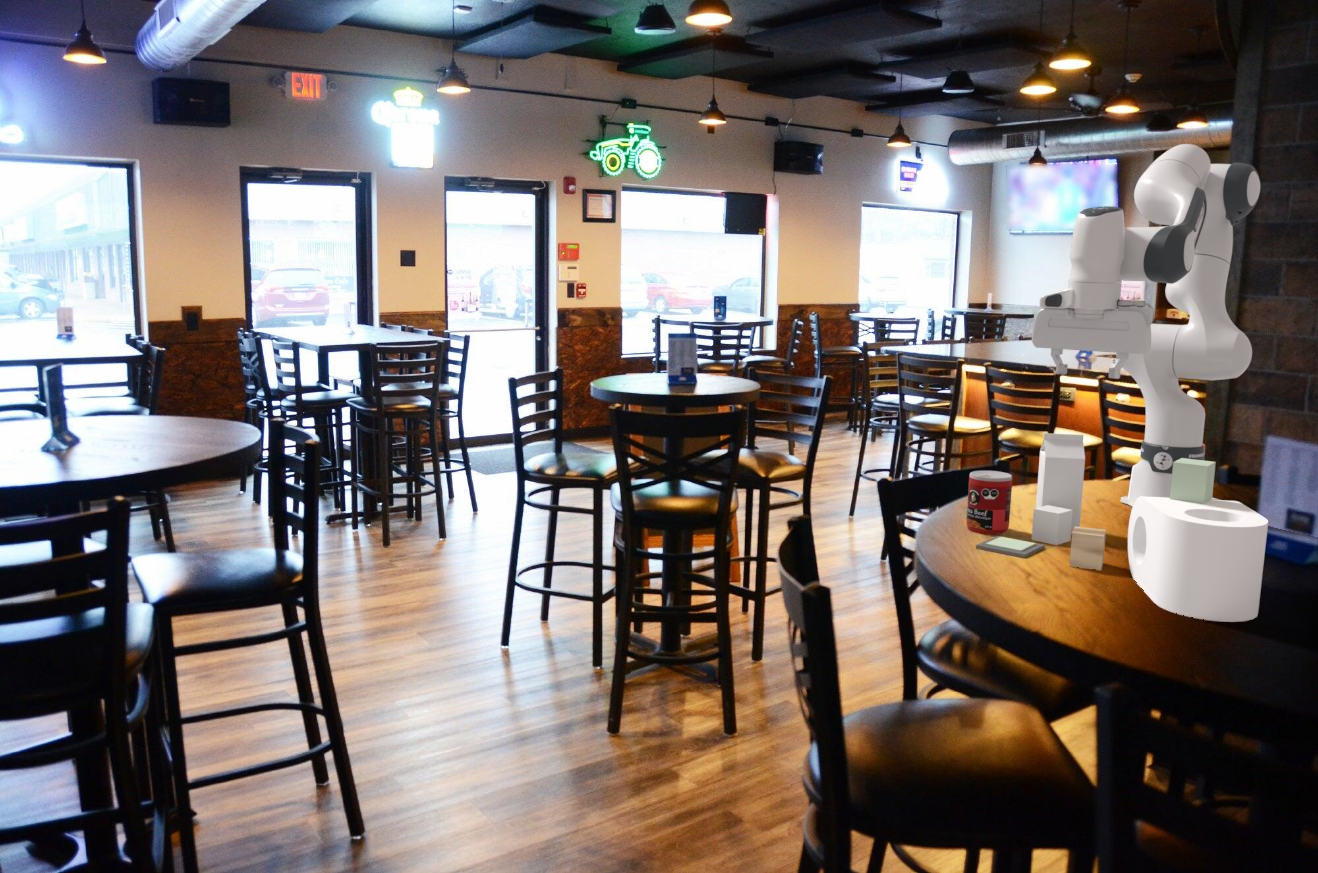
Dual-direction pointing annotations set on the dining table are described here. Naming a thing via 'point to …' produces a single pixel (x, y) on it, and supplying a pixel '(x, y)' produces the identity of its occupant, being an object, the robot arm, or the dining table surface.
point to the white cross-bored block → (1198, 556)
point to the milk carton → (1061, 473)
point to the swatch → (1010, 546)
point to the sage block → (1192, 480)
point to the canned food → (989, 502)
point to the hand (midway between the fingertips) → (1087, 376)
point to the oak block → (1087, 548)
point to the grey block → (1052, 524)
